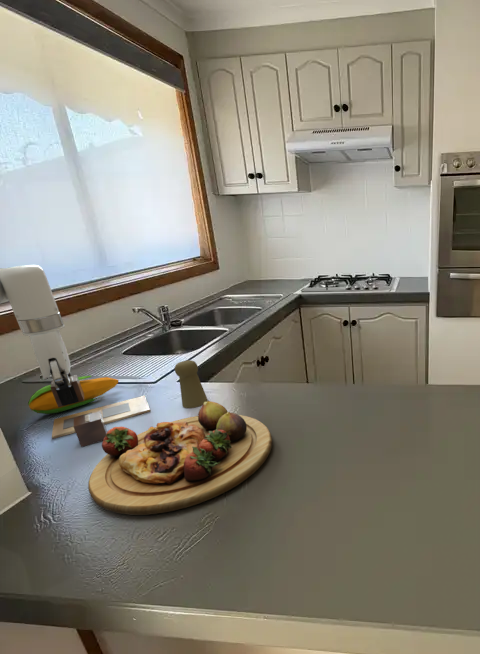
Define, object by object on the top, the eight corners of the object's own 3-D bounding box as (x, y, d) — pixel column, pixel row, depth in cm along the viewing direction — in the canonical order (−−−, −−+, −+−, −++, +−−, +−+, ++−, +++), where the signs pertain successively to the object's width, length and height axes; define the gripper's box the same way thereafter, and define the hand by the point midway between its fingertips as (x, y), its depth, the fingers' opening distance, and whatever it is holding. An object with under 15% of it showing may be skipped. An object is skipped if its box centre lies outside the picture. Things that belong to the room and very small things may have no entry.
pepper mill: (192, 410, 102) (181, 367, 98) (177, 405, 106) (165, 364, 102) (212, 399, 107) (203, 359, 103) (197, 396, 110) (187, 356, 106)
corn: (20, 387, 104) (109, 362, 117) (31, 414, 107) (117, 387, 120) (25, 396, 99) (118, 370, 112) (37, 424, 102) (126, 395, 115)
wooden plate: (47, 500, 73) (29, 459, 70) (184, 415, 100) (175, 383, 97) (194, 537, 62) (180, 490, 58) (302, 430, 89) (296, 394, 86)
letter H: (58, 407, 95) (50, 386, 93) (59, 400, 99) (51, 380, 97) (84, 400, 98) (76, 380, 96) (84, 394, 102) (76, 374, 100)
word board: (52, 439, 94) (51, 436, 93) (55, 421, 102) (53, 418, 102) (150, 411, 103) (149, 409, 103) (145, 397, 112) (144, 394, 112)
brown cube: (81, 447, 89) (73, 426, 87) (81, 437, 93) (73, 417, 91) (108, 439, 92) (100, 418, 90) (107, 430, 96) (100, 410, 94)
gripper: (24, 321, 96) (53, 393, 103) (15, 336, 83) (49, 417, 90) (63, 314, 100) (89, 384, 107) (60, 327, 87) (90, 406, 93)
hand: (70, 398), depth 98 cm, fingers closed on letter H, 5 cm apart
